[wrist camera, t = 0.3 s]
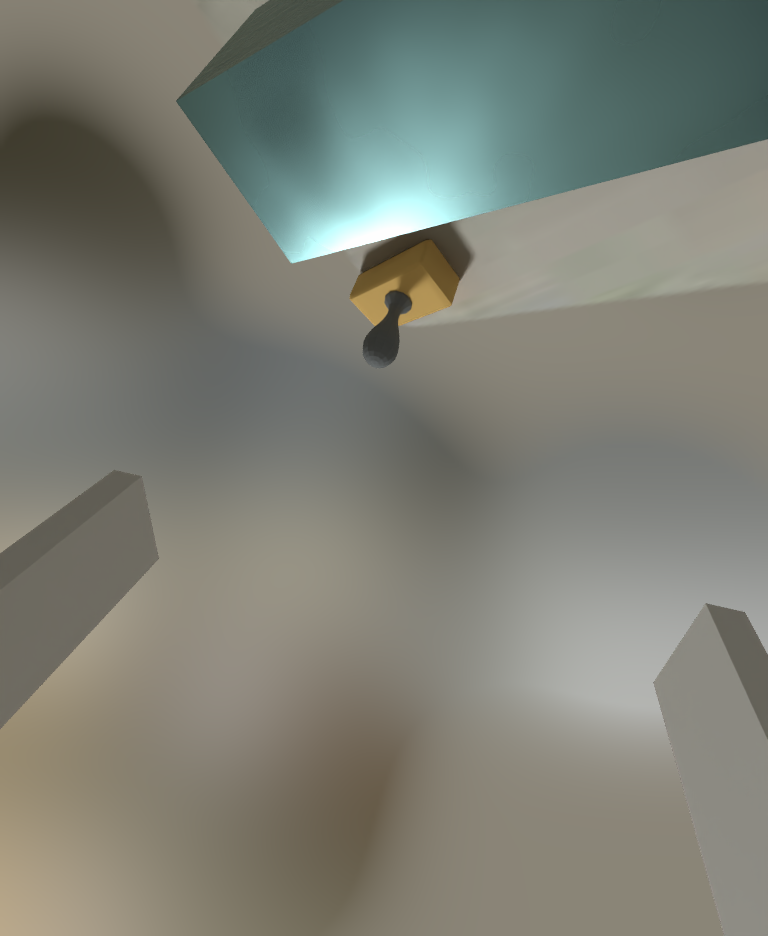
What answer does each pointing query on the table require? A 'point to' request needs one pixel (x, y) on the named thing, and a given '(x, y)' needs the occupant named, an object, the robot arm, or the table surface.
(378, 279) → the rubber stamp
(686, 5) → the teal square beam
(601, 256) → the table surface
